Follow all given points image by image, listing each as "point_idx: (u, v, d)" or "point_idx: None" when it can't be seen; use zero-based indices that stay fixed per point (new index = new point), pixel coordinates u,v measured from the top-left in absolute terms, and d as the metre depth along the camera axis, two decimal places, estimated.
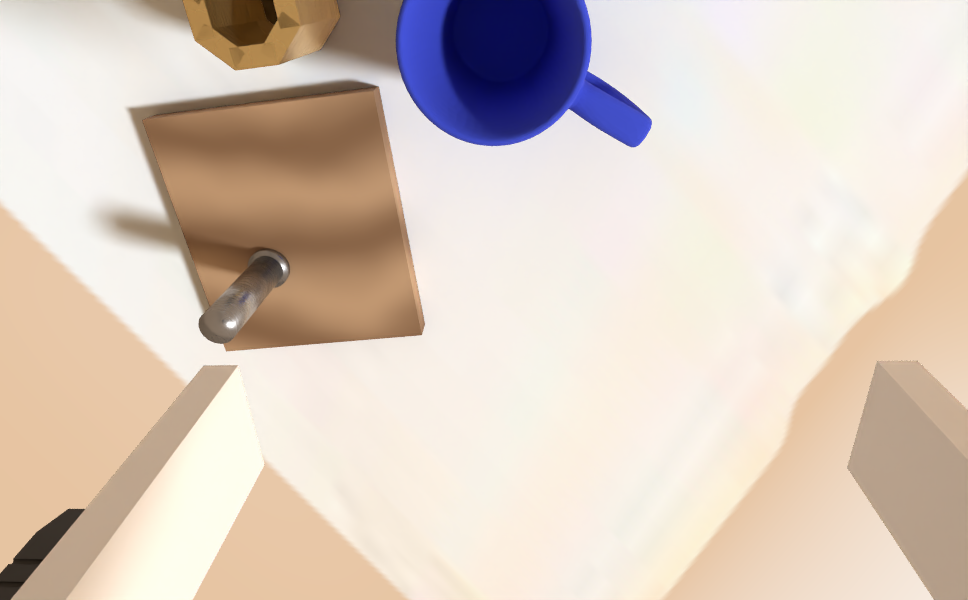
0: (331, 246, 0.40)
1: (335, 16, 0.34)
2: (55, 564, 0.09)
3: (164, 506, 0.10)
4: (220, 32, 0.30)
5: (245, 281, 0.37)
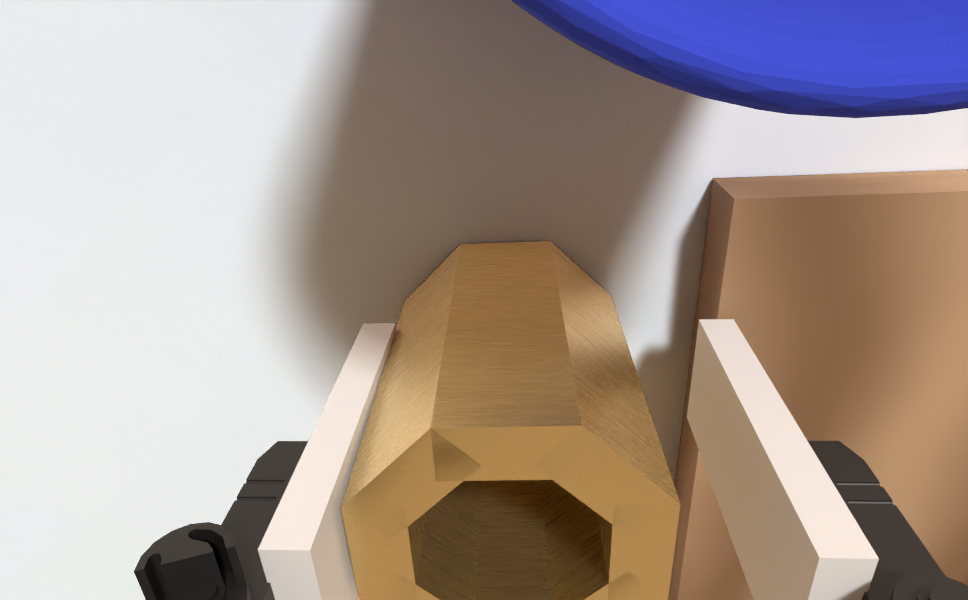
0: None
1: (549, 256, 0.14)
2: (305, 477, 0.10)
3: None
4: None
5: None
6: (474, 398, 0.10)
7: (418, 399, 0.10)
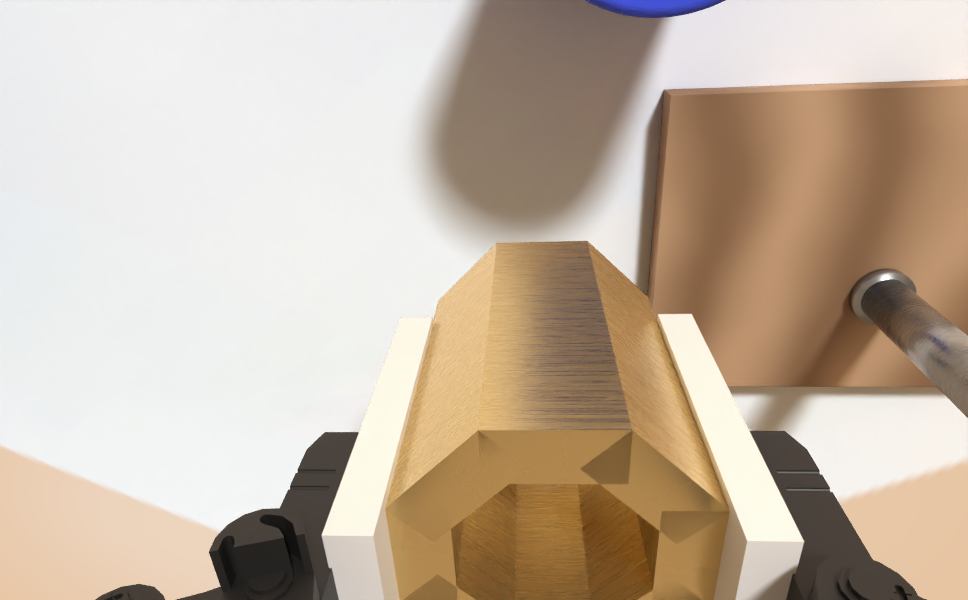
0: (879, 202, 0.27)
1: (587, 256, 0.14)
2: (360, 465, 0.10)
3: None
4: None
5: (910, 334, 0.25)
6: (520, 400, 0.09)
7: (462, 400, 0.10)
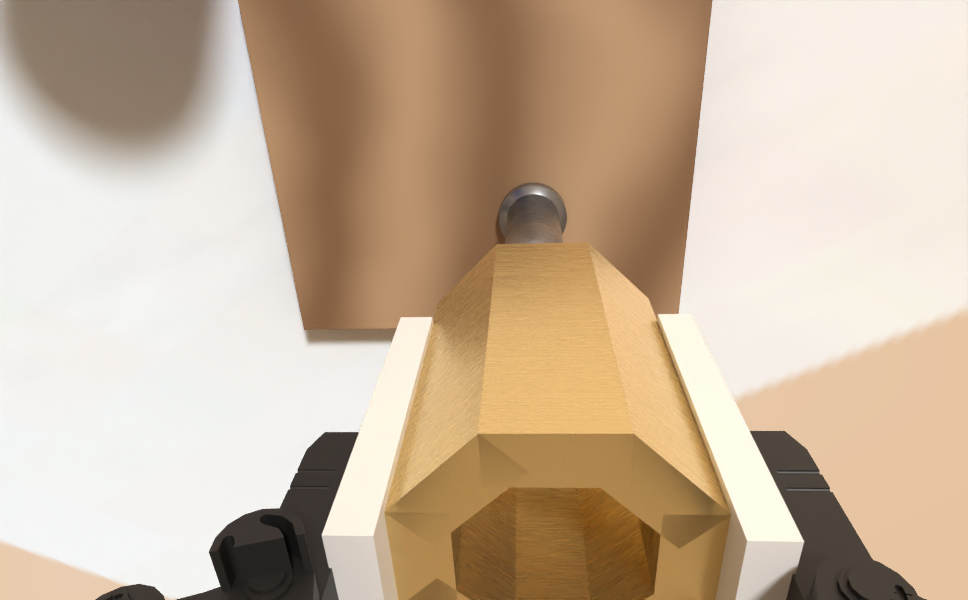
0: (503, 100, 0.23)
1: (588, 258, 0.14)
2: (360, 465, 0.10)
3: None
4: None
5: None
6: (521, 403, 0.09)
7: (462, 403, 0.10)
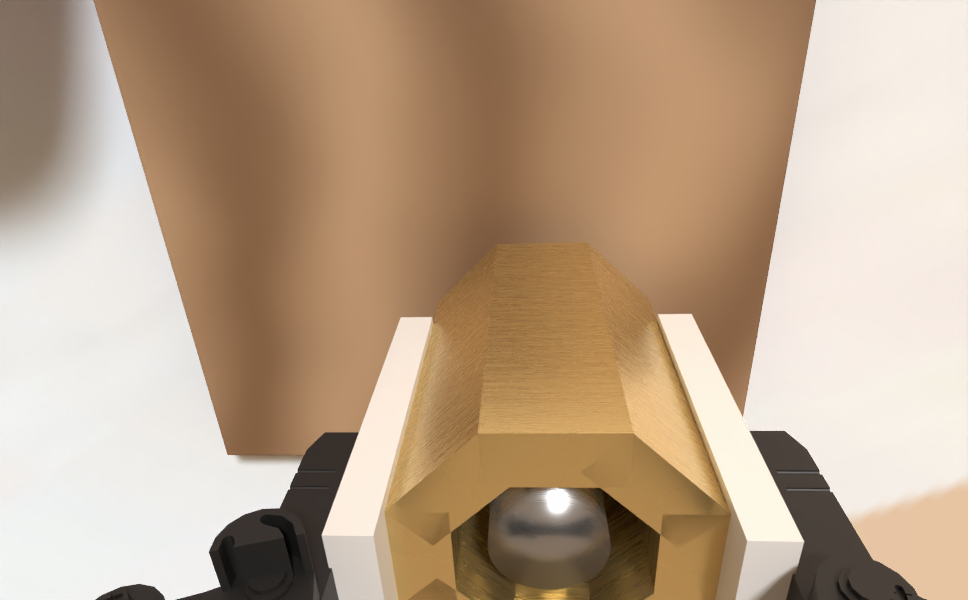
0: (496, 158, 0.15)
1: (587, 258, 0.14)
2: (360, 465, 0.10)
3: None
4: None
5: None
6: (520, 403, 0.09)
7: (462, 403, 0.10)
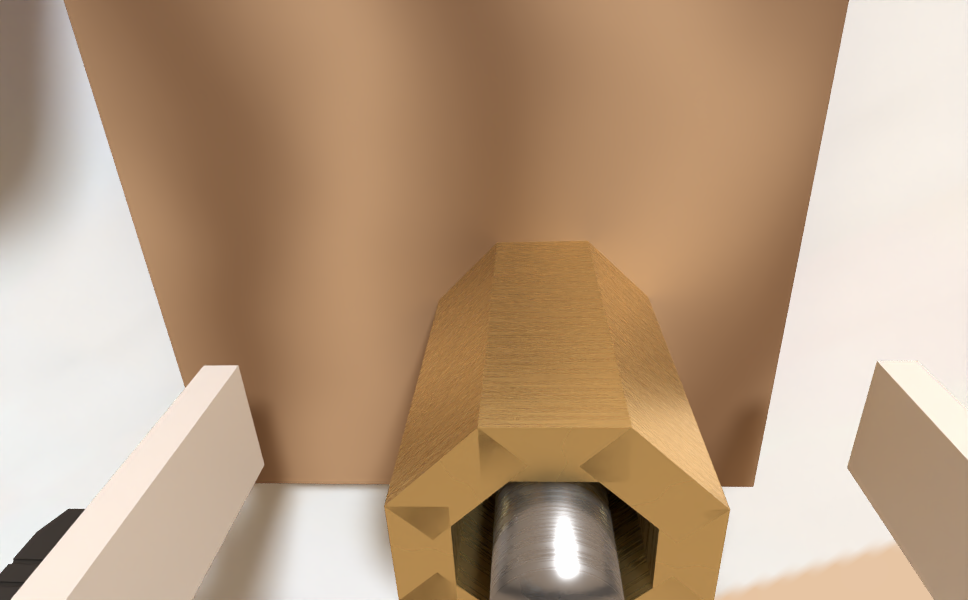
0: (498, 173, 0.14)
1: (587, 256, 0.14)
2: (55, 564, 0.09)
3: (163, 505, 0.10)
4: None
5: None
6: (520, 398, 0.10)
7: (462, 398, 0.10)
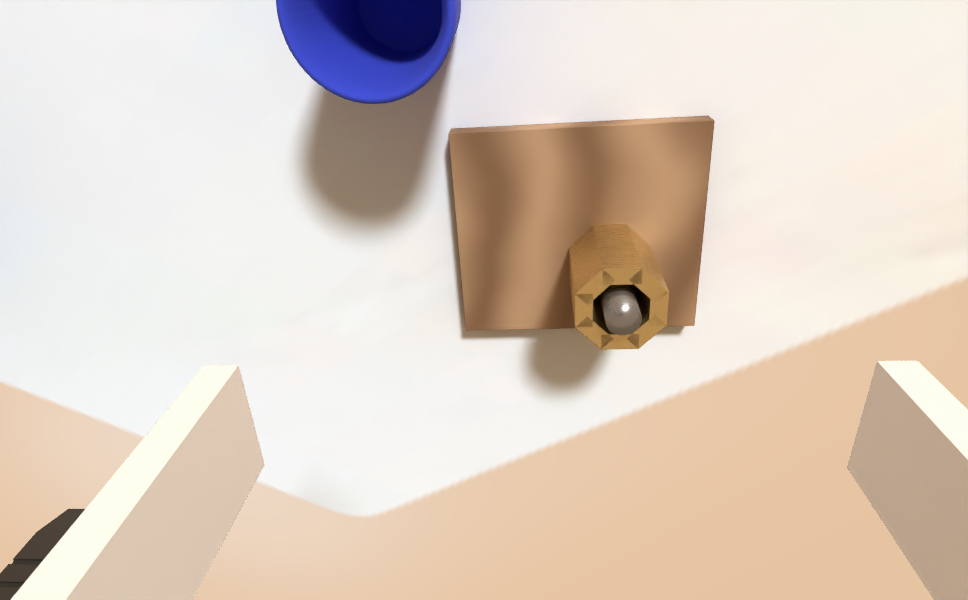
0: (594, 200, 0.40)
1: (626, 228, 0.40)
2: (55, 564, 0.09)
3: (164, 506, 0.10)
4: None
5: None
6: (612, 263, 0.35)
7: (594, 266, 0.36)
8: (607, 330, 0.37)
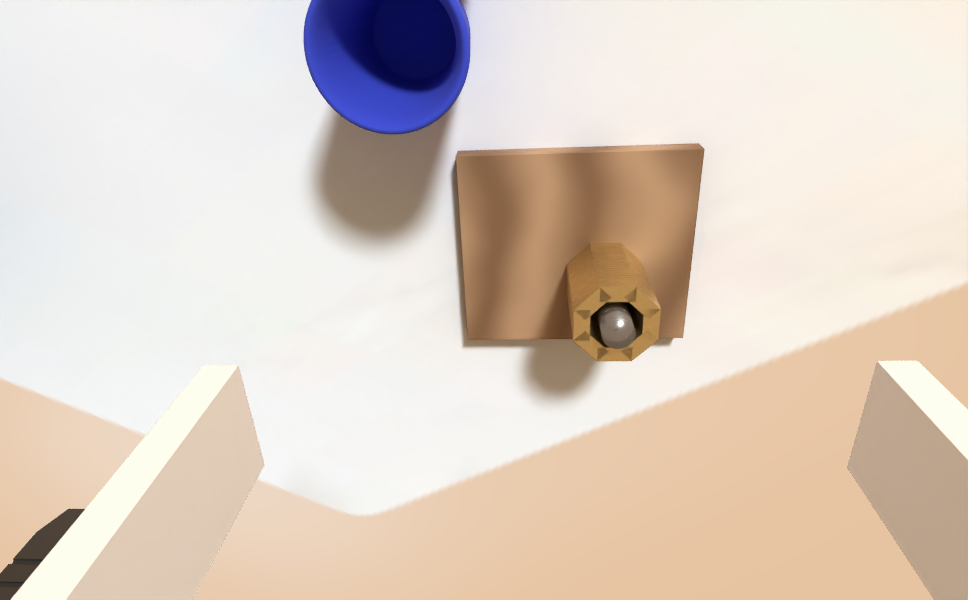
0: (591, 220, 0.43)
1: (621, 247, 0.43)
2: (55, 564, 0.09)
3: (164, 506, 0.10)
4: None
5: None
6: (609, 282, 0.38)
7: (592, 284, 0.39)
8: (603, 344, 0.40)
